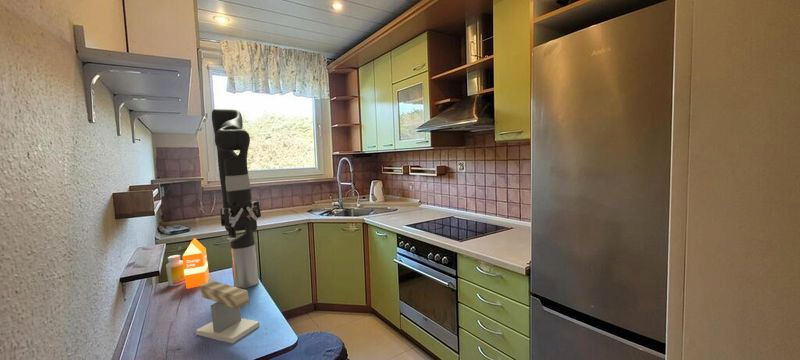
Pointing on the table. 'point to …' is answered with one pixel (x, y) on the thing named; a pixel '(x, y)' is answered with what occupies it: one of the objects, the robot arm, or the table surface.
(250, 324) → the stand
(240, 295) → the rectangular block
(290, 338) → the table surface
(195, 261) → the orange juice
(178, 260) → the supplement bottle
